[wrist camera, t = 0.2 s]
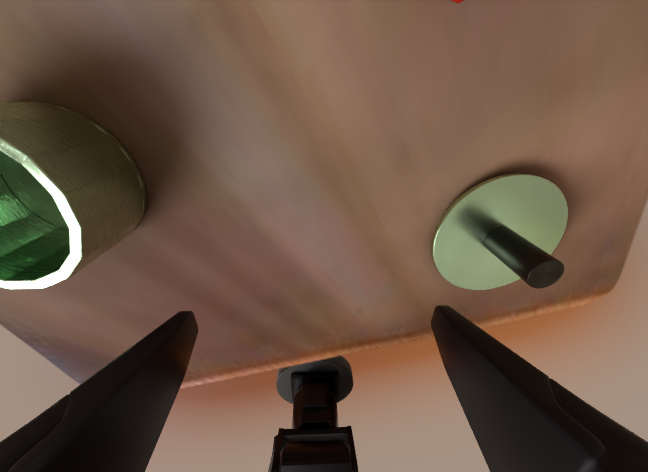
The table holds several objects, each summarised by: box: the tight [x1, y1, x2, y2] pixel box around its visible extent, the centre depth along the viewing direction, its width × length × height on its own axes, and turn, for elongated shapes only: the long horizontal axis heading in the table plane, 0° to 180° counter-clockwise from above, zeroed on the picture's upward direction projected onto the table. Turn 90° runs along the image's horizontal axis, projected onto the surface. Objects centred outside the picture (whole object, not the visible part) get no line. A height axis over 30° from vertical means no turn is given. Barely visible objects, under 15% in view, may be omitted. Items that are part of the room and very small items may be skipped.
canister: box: [0, 102, 147, 289], centre depth 16 cm, size 10×10×6 cm
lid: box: [431, 173, 568, 290], centre depth 20 cm, size 11×11×6 cm
